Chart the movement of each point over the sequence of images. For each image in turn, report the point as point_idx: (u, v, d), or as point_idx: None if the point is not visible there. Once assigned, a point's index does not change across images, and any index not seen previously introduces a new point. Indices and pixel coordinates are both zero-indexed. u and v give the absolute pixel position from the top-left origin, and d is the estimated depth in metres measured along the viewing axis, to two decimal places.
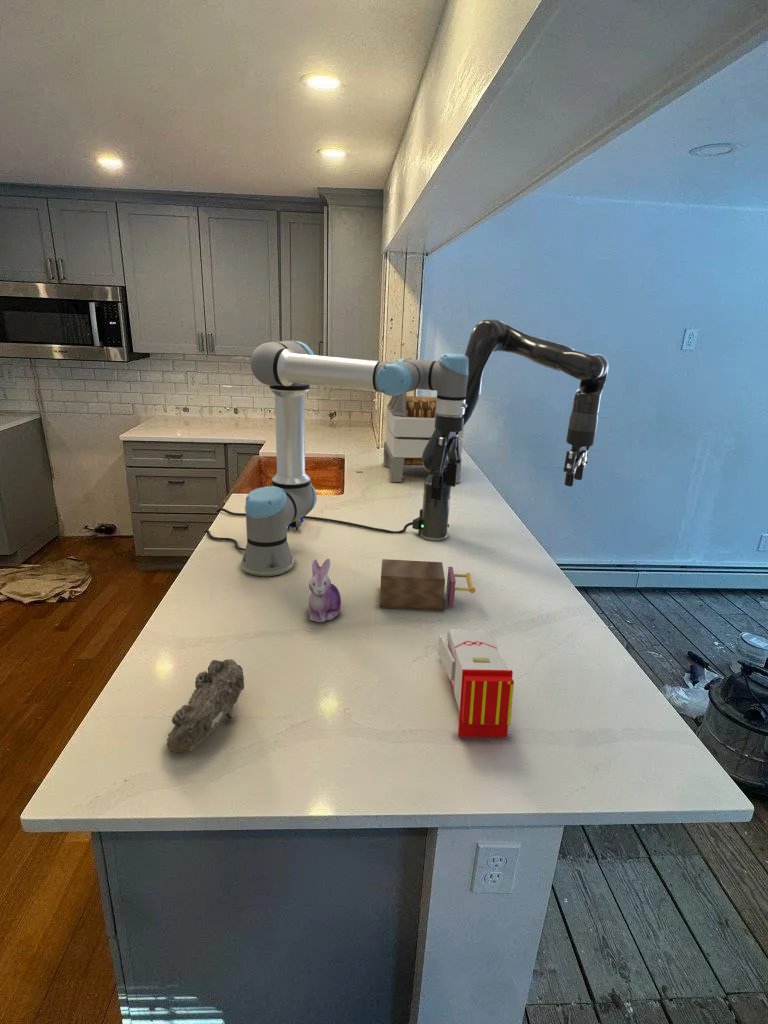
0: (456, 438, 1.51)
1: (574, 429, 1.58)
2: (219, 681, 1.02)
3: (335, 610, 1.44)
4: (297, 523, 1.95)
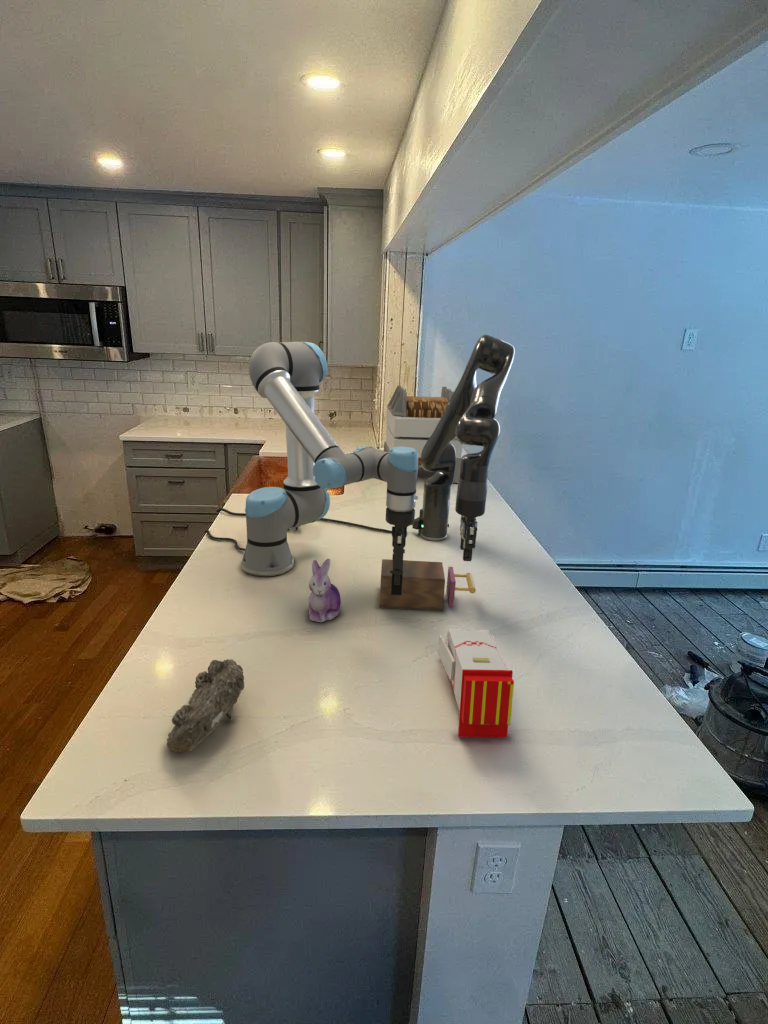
0: (406, 528, 1.50)
1: None
2: (219, 681, 1.02)
3: (335, 610, 1.44)
4: None
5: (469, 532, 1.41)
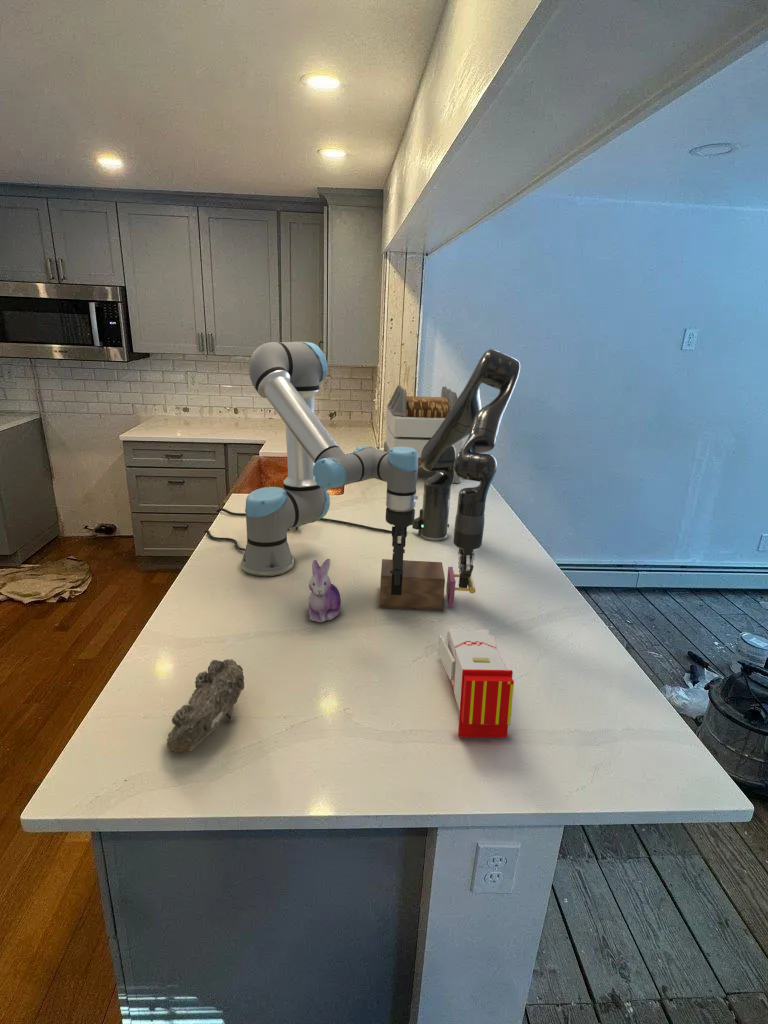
0: (406, 528, 1.50)
1: None
2: (219, 681, 1.02)
3: (335, 610, 1.44)
4: None
5: (465, 570, 1.45)
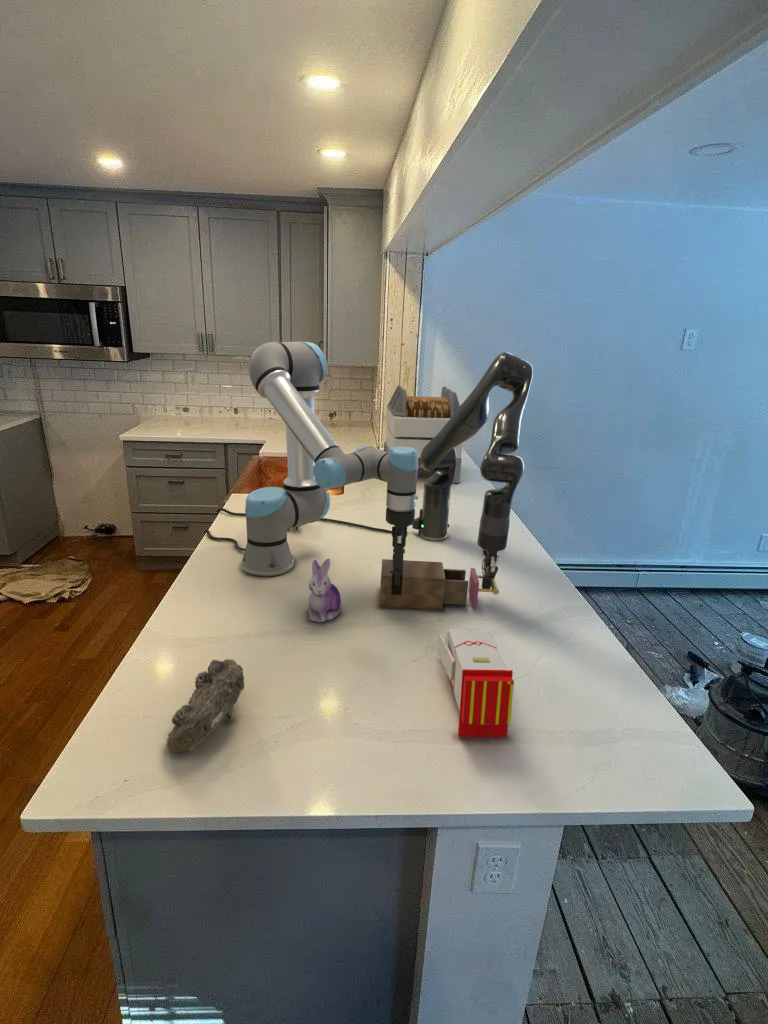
0: (406, 528, 1.50)
1: None
2: (219, 681, 1.02)
3: (335, 610, 1.44)
4: None
5: (490, 571, 1.45)
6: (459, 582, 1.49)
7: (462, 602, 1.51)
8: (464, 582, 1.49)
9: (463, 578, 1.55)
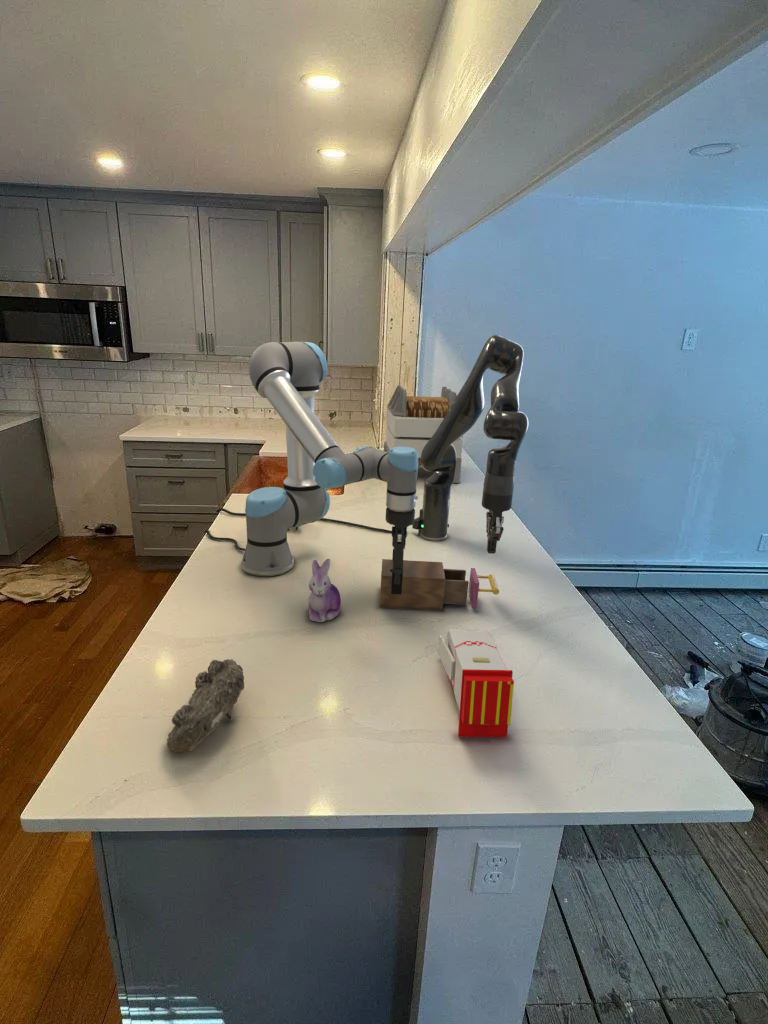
0: (406, 528, 1.50)
1: None
2: (219, 681, 1.02)
3: (335, 610, 1.44)
4: None
5: (495, 532, 1.42)
6: (459, 582, 1.49)
7: (462, 601, 1.51)
8: (464, 582, 1.49)
9: (463, 578, 1.56)
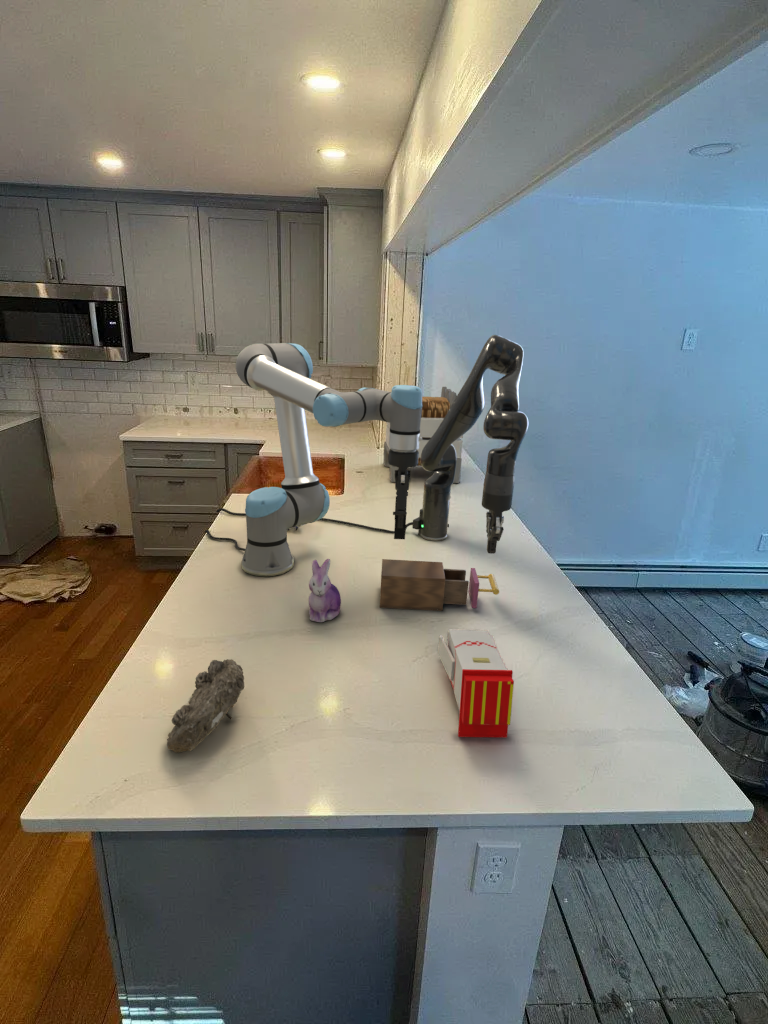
0: None
1: None
2: (219, 681, 1.02)
3: (335, 610, 1.44)
4: None
5: (495, 532, 1.42)
6: (459, 582, 1.49)
7: (462, 601, 1.51)
8: (464, 582, 1.49)
9: (463, 578, 1.56)
